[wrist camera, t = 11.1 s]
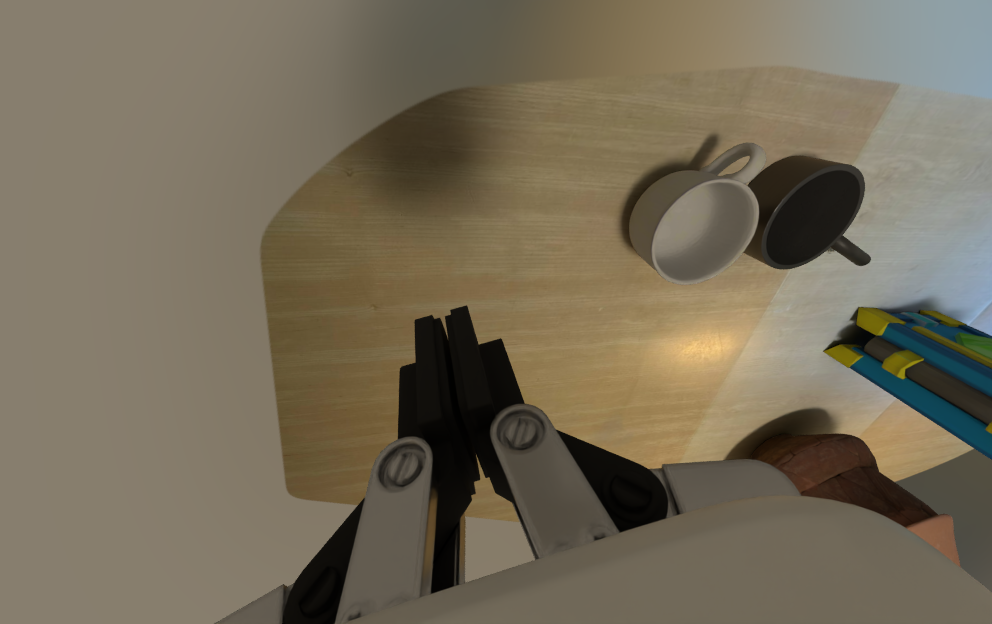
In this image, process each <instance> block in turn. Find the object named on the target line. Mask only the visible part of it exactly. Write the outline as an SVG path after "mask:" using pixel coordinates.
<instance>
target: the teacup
mask: <svg viewBox="0 0 992 624" xmlns="http://www.w3.org/2000/svg"><path fill="white" fill-rule="evenodd" d="M745 156H750V159H749V161H748V163H747V164H746V165H745V166H744V167H743V168H742V169H741V170H740V171H738V172H736V173H733V174H726V175H723V176H717V175H718V174H719V173H720V172H722V171H723V170H724V169H725V168H726V167H728V166H729V165H730V164H732V163H733V162H735V161H737V160H738V159H740V158H742V157H745ZM765 162H766V153H765V151H764V150H763V148H762V147H760V146H758V145H757V144H754V143H743V144H739V145H737V146H734V147H732V148H731V149H729V150H727V151H726V152H724V153H723V154H722V155H720V156H719V157H718V158H717V159H715V160H714V161H713V162H712V163H711V164H709V165H708V166H705V167H703V168H701V169H700V170H699V171H693V170H686V171H678V172H674V173H671V174H669V175H666V176H664V177H662V178H661V179H659V180H657V181H656V182H655V183H653V184H652V185H651V186H650V187H649V188H648V189H647V190H646V191H645V192H644V193H643V194H642V195H641V197H640V198H639V199H638V201H637V203H636V205H635V207H634V209H633V211H632V214H631V218H630V223H629V234H630V240H631V242H632V245H633V247H634V249H635V250H636V252H637V253H638V254H639V255H640V257H641V258H642V259H643V260H645V261H646V262H647V263H648V264H649V265H650V266H651V267H652V268H654V269H655V270H656V271H657V272H658V274H659V275H660V276H661V277H663V278H664V279H665V280H667V281H669V282H672V283H675V284H680V285H691V284H696V283H700V282H703V281H706V280H708V279H710V278H713V277H715V276H717V275H718V274H720V273H721V272H723V271H724V270H725V269H727V268H728V267H729V266H731V265H732V264H733V263H734V262H735V261H736V260H737V259H738V258H739V257H740V256H741V254H742V253H743V252H744V251H745V249H746V247H747V246H748V244H749V243H750V242H751V239H752V237H753V236H754V234H755V231H756V228H757V224H758V219H759V205H758V201H757V199H756V197H755V195H754V193H753V192H752V191H751V189H750V188H749V187H748V186H747V185H745V184H746V183H747V182H749V181H750V180H752V179H753V178H754V177H756V176H757V174H758V173H759V172H760V171H761V170H762V168H763V167H764V165H765Z"/></svg>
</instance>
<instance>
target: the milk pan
mask: <svg viewBox="0 0 992 624" xmlns="http://www.w3.org/2000/svg"><path fill="white" fill-rule="evenodd" d="M748 187H749V188H750V189H751V191H752V192H753V193H754V195H755V197H756V199H757V201H758V205H759V219H758V224H757V228H756V231H755V234H754V236H753V237H752V239H751V242H750V243H749V244H748V246H747V247H746V249H745V251H744V252H743V253H745V254H747V255H749V256H751V257H753V258H755V259H757V260H759V261H761V262H763V263H765V264H767V265H769V266H771V267H773V268H776V269H792V268H796V267H799V266H802V265H804V264H806V263H808V262H810V261H812V260H814V259H815V258H817V257H818V256H820V255H821V254H823V253H824V252H825V251H827V250H828V249H829V248H830V247H831V248H833V249H834V250H836V251H837V252H839V253H840V254H841V255H843V256H844V257H846V258H847V259H848V260H850V261H851V262H853V263H854V264H856V265H858V266H864V265H867V264H868V263H869V262H870V260H871V257H870V256H869V255H868V254H867V253H865V252H864V251H863V250H861V249H860V248H859V247H857V246H856V245H855V244H853V243H852V242H851V241H849V240H848V239H847V238H845V237H844V236H842V235H843V234H844V233H845V231H846V230H847V229H848V227H849V226H850V225H851V223H852V222H853V220H854V218H855V217H856V215H857V213H858V211H859V209H860V206H861V204H862V201H863V197H864V191H865V182H864V177H863V175H862V173H861V172H860V171H859V170H858V169H857V168H856V167H854V166H852V165H848V164H843V163H838V162H832V161H827V160H822V159H816V158H811V157H806V156H792V157H788V158H785V159H782V160H780V161H778V162H776V163H774V164H772V165H770V166H769V167H767V168H766V169H765V170H763V171H762V172H761V173H760V174H759V175H757V176H756V177H755V178H754V179H753V180H752V181H751V182H750V184H749V185H748Z"/></svg>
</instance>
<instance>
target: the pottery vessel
mask: <svg viewBox="0 0 992 624" xmlns="http://www.w3.org/2000/svg"><path fill="white" fill-rule="evenodd" d="M751 460H759V461H762V462H765V463H767V464H770V465H772V466H774V467H775V468H777V469H778V470H780V471H781V472H783V473H784V474H785V475H786V476H787V477H788V478H789V479H790V480H791V482H792V483H793V484H794V485H795V487H796V488H797V490H798V491H799V493H800V494H801V496H808V497H815V498H822V499H830V500H835V501H839V502H843V503H848V504H852V505H856V506H859V507H862V508H865V509H868V510H871V511H874V512H876V513H879V514H881V515H883V516H885V517H887V518H889V519H891V520H893V521H894V522H896V523H898V524H900V525H902V526H903V527H905V528H907V529H908V530H910V531H911V532H913V533H914V534H916V535H917V536H919V537H920V538H922V539H923V540H925V541H926V542H927V543H929V544H930V545H932V546H933V547H934V548H936V549H937V550H939V551H940V552H941V553H943V554H944V555H945V556H946V557H948V558H949V559H950V560H951V561H953V562H954V563H955V564H956V565H958V566H959V567H960V562H959V557H958V552H957V549H956V544H955V538H954V530H953V519H952V517H951V516H950V515H947V514H940V515H938V514H937V513H936V512H934V511H933V510H932V509H931V508H930V507H929V506H928V505H926V504H925V503H924V502H922V501H921V500H919V499H918V498H916V497H915V496H913V495H912V494H911V493H909V492H908V491H906V490H905V489H903V488H902V487H900V486H899V485H898V484H896V483H895V482H893V481H892V480H890V479H889V478H887V477H886V476H884V475H883V474H881V473H880V472H879V470H878V467H877V463H876V460H875V457H874V456H873V454H872V453H871V451H870V449H869V448H868V446H867V445H866V444H865V443H864V441H862V440H861V439H860V438H858V437H855V436H852V435H847V434H818V435H798V436H792V435H790V434H783V435H778V436H775V437H773V438H770V439H769V440H767V441H765V442H764V443H763V444H762V445H760V446H759V447H758V448H757V449H756V450H755V451H754V452H753V454H752V456H751ZM960 568H961V567H960Z"/></svg>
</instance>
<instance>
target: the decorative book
mask: <svg viewBox="0 0 992 624" xmlns="http://www.w3.org/2000/svg"><path fill="white" fill-rule="evenodd" d="M856 325H858V326H860V327H862V328H863V329H865V330H867V331H869V332H871V333H873V334H874V335H877V336H876V337H874V338H873V339H871V340H870V341H869V342H868V343H867V344H866V346H865V347H861V346H859V345H838V346H836V347H833V348H831V349H828V350H826V351H824V352H825V353H826V354H828V355H829V356H831V357H832V358H834V359H835V360H837V361H838V362H840V363H842V364H843V365H845V366H846V367H848V368H851V369H853V370H854V371H856V372H857V373H859V374H860V375H862V376H863V377H865V378H866V379H868V380H870V381H871V382H873V383H874V384H876V385H877V386H879V387H880V388H882V389H883V390H885V391H887V392H888V393H890V394H891V395H893V396H894V397H896V398H897V399H899V400H900V401H902V402H904V403H905V404H907V405H908V406H910V407H911V408H913V409H914V410H916V411H917V412H919V413H920V414H922V415H924V416H925V417H927V418H928V419H930V420H931V421H933V422H934V423H936V424H937V425H939V426H941V427H942V428H944V429H945V430H947V431H948V432H950V433H951V434H953V435H954V436H956V437H958V438H959V439H961V440H962V441H964V442H965V443H967V444H968V445H970V446H971V447H973V448H975V449H976V450H978V451H979V452H981V453H982V454H984V455H985V456H987V457H988V458H990V459H992V336H990V335H988V334H986V333H984V332H981V331H979V330H977V329H974V328H972V327H970V326H967V324H964V323H962V322H960V321H957V320H955V319H953V318H951V317H948V316H946V315H944V314H941V313H939V312H937V311H924V310H920V314H918V313H913V312H902V313H899V314H897V313H886V312H884V311H882V310H879V309H877V308H863V307H859V310H858V317H857V323H856Z"/></svg>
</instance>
